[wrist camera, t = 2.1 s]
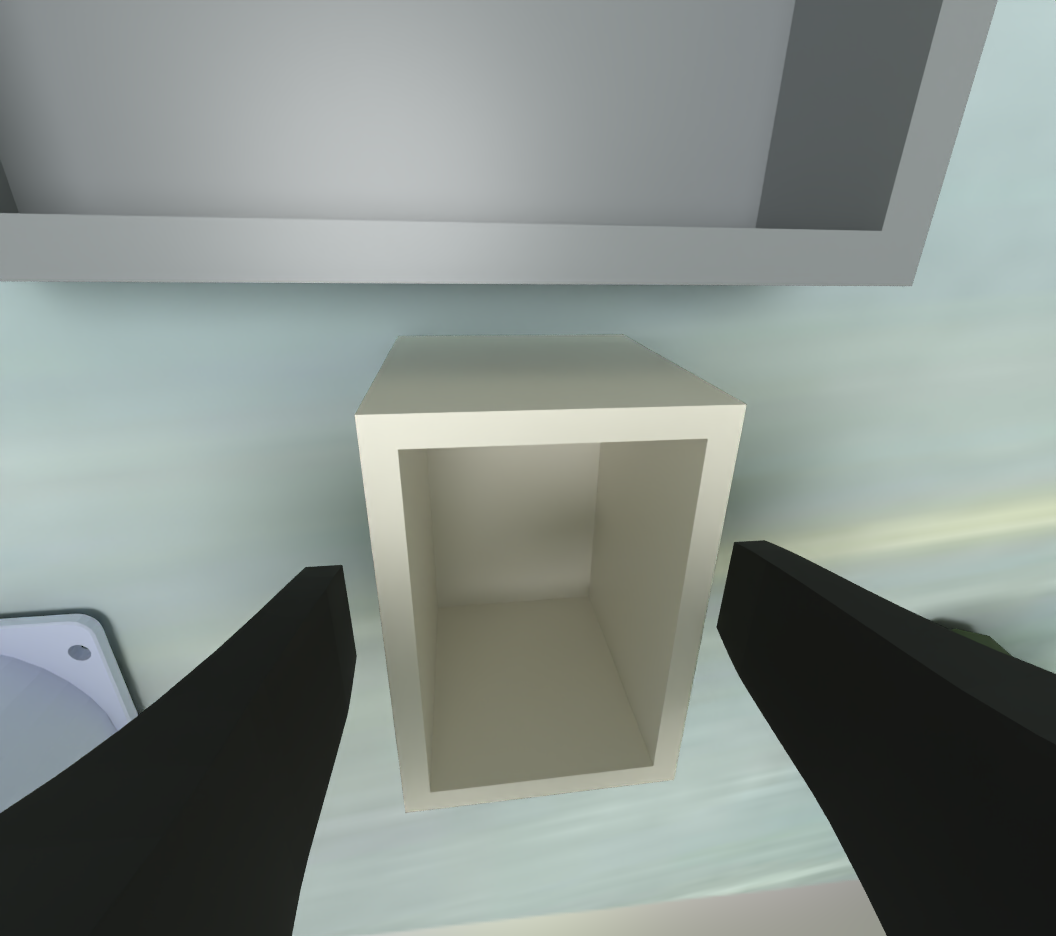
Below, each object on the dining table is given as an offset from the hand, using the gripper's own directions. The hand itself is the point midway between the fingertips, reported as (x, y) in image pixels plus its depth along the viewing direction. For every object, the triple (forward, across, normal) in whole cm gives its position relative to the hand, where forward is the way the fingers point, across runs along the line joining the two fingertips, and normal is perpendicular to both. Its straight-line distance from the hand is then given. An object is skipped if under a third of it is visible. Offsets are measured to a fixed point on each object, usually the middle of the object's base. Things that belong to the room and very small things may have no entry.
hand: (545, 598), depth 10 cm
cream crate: (+5, 0, 0) cm, 5 cm away
